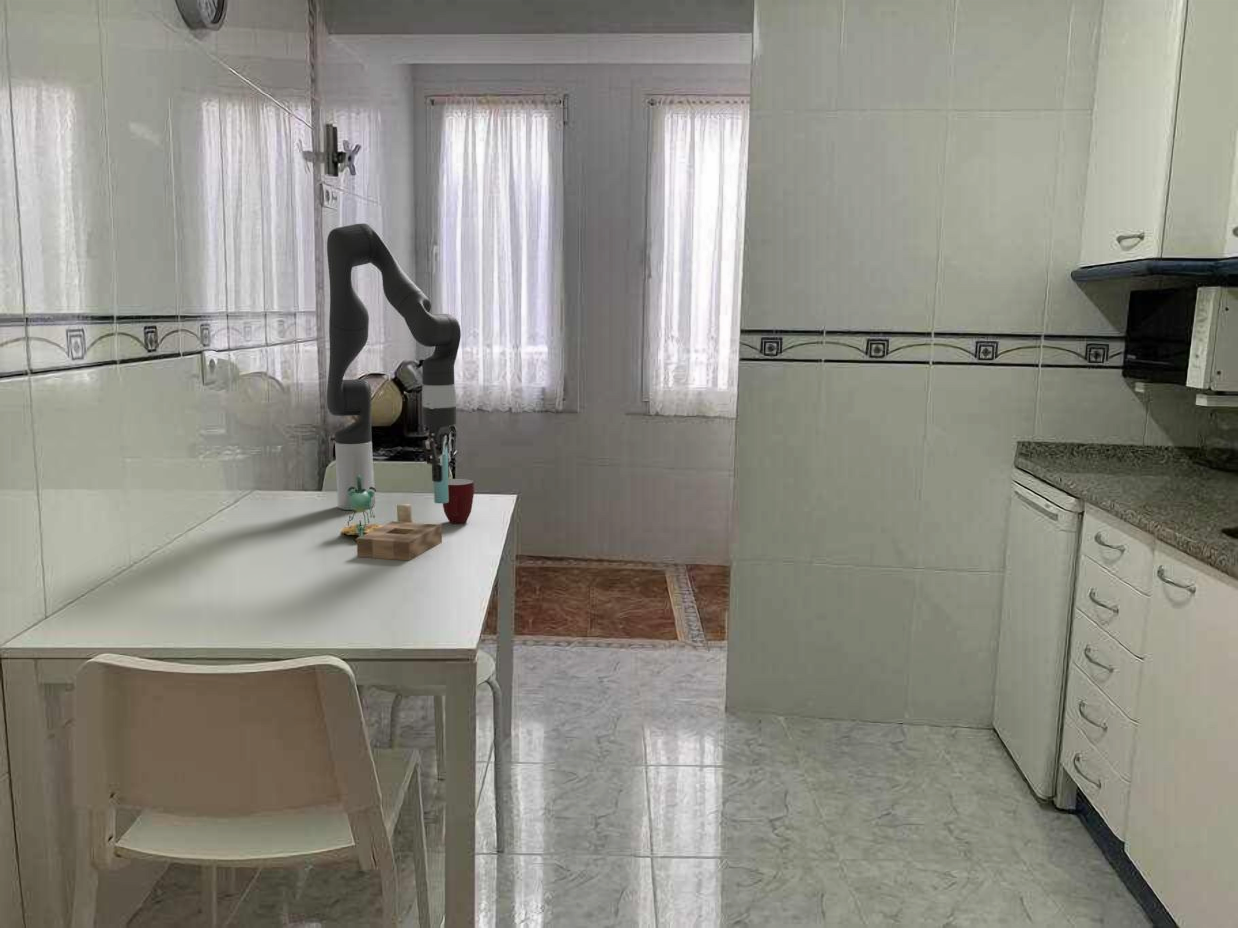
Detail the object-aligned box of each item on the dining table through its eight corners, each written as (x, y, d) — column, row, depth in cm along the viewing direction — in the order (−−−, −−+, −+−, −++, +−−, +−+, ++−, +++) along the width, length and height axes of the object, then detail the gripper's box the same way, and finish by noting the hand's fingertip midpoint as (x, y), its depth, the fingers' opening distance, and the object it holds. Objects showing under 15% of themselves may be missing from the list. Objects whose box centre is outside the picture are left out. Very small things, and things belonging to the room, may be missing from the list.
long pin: (437, 499, 222) (436, 444, 220) (450, 500, 222) (449, 444, 219) (432, 502, 219) (430, 446, 217) (445, 503, 219) (443, 447, 216)
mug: (474, 527, 231) (473, 486, 229) (440, 528, 229) (439, 487, 228) (474, 517, 241) (473, 478, 239) (441, 518, 240) (440, 479, 238)
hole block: (393, 538, 220) (392, 521, 219) (441, 542, 217) (441, 524, 216) (357, 556, 205) (356, 538, 204) (409, 560, 202) (408, 542, 201)
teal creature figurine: (327, 544, 215) (325, 478, 214) (351, 533, 233) (350, 472, 232) (370, 544, 215) (368, 478, 214) (391, 533, 233) (390, 472, 232)
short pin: (402, 532, 225) (401, 503, 224) (414, 533, 225) (413, 504, 223) (395, 536, 222) (394, 506, 221) (408, 536, 222) (407, 507, 220)
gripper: (436, 400, 224) (438, 473, 227) (409, 407, 210) (411, 485, 214) (467, 401, 222) (468, 475, 225) (441, 408, 209) (443, 487, 212)
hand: (440, 479), depth 219 cm, fingers closed on long pin, 3 cm apart
